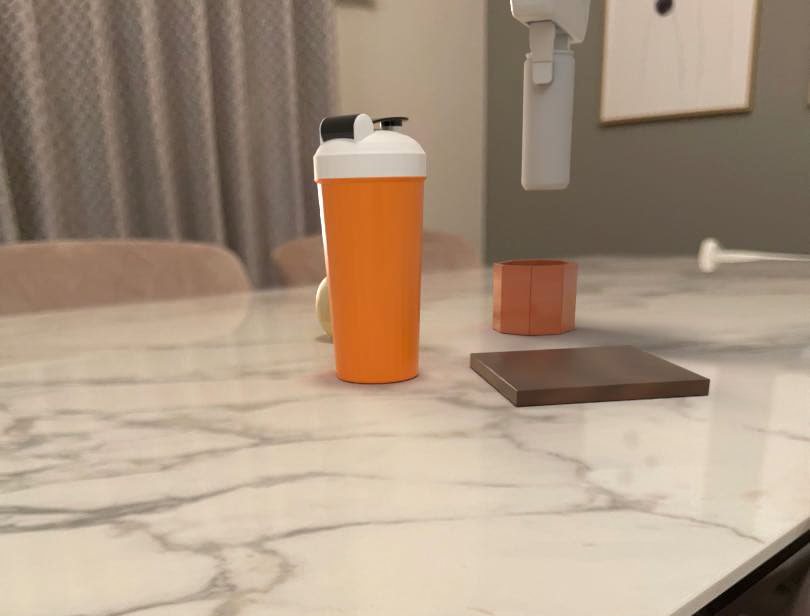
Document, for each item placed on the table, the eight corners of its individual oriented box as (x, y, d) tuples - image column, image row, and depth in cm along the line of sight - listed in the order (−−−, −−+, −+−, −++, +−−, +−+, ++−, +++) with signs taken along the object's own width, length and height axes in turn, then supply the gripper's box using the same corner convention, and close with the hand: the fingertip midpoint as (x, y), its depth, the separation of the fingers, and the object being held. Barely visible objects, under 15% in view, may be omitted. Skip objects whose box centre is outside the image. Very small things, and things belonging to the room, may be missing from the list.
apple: (406, 328, 93) (403, 269, 87) (359, 369, 90) (353, 311, 83) (352, 301, 96) (345, 243, 90) (304, 340, 93) (295, 281, 86)
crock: (557, 321, 98) (560, 258, 95) (582, 332, 91) (586, 264, 88) (487, 324, 97) (488, 260, 94) (506, 336, 89) (508, 267, 87)
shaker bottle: (448, 370, 74) (448, 115, 66) (390, 391, 67) (381, 109, 59) (366, 361, 79) (357, 122, 71) (304, 379, 72) (286, 117, 64)
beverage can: (511, 190, 85) (513, 54, 81) (542, 189, 88) (546, 57, 83) (548, 190, 82) (553, 48, 77) (579, 188, 85) (586, 51, 80)
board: (629, 358, 77) (630, 344, 77) (708, 394, 64) (710, 379, 63) (469, 366, 75) (470, 353, 75) (516, 406, 62) (517, 390, 61)
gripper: (571, -127, 66) (563, 74, 71) (604, -64, 84) (596, 93, 89) (493, -116, 68) (491, 79, 73) (541, -56, 86) (537, 97, 91)
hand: (549, 87), depth 81 cm, fingers closed on beverage can, 5 cm apart
